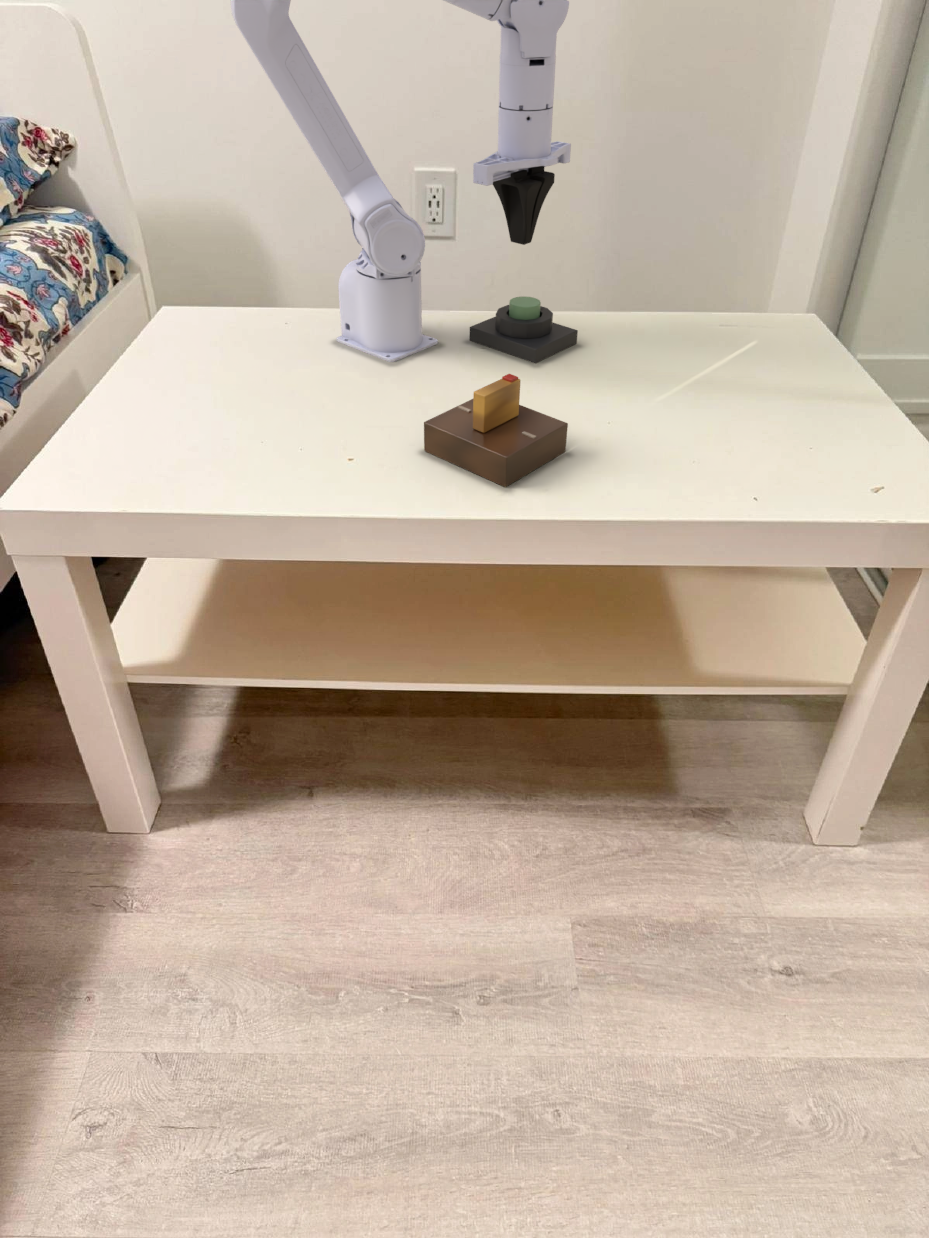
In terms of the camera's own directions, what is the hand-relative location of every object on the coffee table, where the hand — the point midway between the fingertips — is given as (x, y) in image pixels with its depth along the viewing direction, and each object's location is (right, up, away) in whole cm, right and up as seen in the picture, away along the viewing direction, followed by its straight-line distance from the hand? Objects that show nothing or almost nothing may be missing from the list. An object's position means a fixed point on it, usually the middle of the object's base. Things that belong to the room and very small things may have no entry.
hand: (520, 242), depth 101 cm
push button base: (0, -10, +4) cm, 11 cm away
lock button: (+1, -8, +2) cm, 8 cm away
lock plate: (-4, -27, -17) cm, 33 cm away
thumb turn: (-4, -25, -19) cm, 32 cm away
